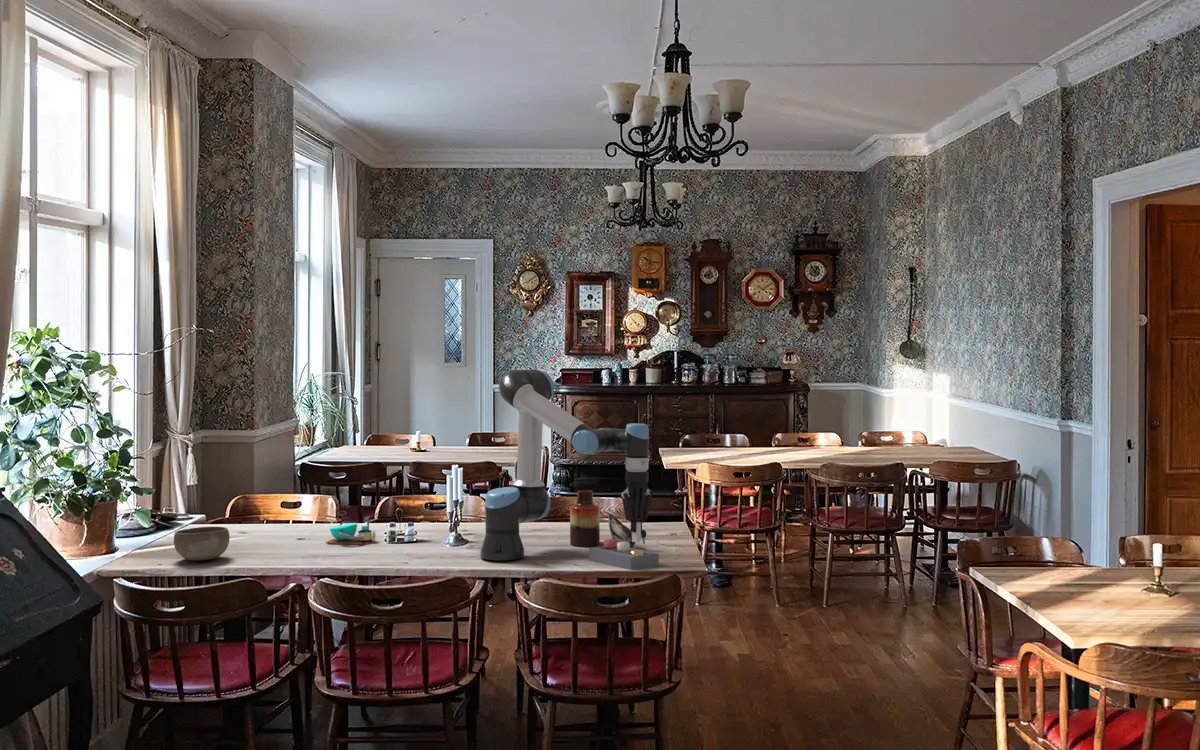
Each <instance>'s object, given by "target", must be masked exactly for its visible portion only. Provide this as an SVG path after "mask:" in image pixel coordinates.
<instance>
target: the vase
mask: <svg viewBox="0 0 1200 750" xmlns="http://www.w3.org/2000/svg"><path fill="white" fill-rule="evenodd" d="M600 509H601V508H600V506H599V505H598V504H596V503H594V495H593V490H588V489H587V490H586V489H583V490H582V489H581V490H578V491H577V494H576V503H574V504H573V505H571V506H570V507H569V516H570V517H569V523H570V524H569V525H570V527H569V531H570V532H569V541H570V546H571V545H572V547H575V548H576V547H577V548H595V547H599V546H600V543H601V542H600V538H601V535H600V532H601V531H600V529H601V528H600V523H601V522H600V520H601V519H600V518H601V517H600V515H601V513H600V512H601V511H600Z"/></svg>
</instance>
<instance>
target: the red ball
mask: <svg viewBox="0 0 1200 750" xmlns="http://www.w3.org/2000/svg"><path fill="white" fill-rule="evenodd" d="M616 543H617V542H616V540H615V539H612V538H607V539H606V538H605V539H604V540H603V546H604V549H607V550H613V549H616V545H617V544H616Z"/></svg>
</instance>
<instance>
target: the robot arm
mask: <svg viewBox="0 0 1200 750" xmlns="http://www.w3.org/2000/svg"><path fill="white" fill-rule="evenodd" d="M498 391H499V394H500V397H501V398H502V399H503V400H504V401H505V402H506V403H507V404H509V405H510V407H511V406H512V407H513V408H515V409H516V410H517V412H518V428H517V429H518V432H517V455H516V457H517V459H516V461H517V462H516V479H515V480H514V481H513V482H512V483H511V486H505V487H503V486H502V487H497V488H494V489H490V490H489V491H487V493H486V494H485V503H484V505H485V507H484V508H485V509H484V511H485V514H484V515H485V516H484V517H485V536H484V539H483V542H482V545H481V548H480V558H481V559H483V560H487V561H489V560H490V561H511V560H512V561H513V560H519V559H522V558H524V557H525V548H524V544H523V542H522V539H521V535H520V524H523V523H530V522H531V523H533V522H536V521H538V520H542V519H543V518H544V517H545V516H546V515H547V514H548V512H549V511H550V507H551V497H550V495H549V494H548V491H547V490H546V489H545V486H546V485H545V483H544V482H543V481H542V478H541V477H542V476H541V475H542V451H543V449H542V445H543V425H545V426H546V427H547V428H549V429H550V430H552V431H554V433H555V432H556V434H558V435H559V436H561V437H563V438H564V439H565V440H567V441H569V442H570V443H571V445H572V447H573V449H574V450H575V452H577V453H578V454H583V455H590V454H591V455H592V454H597V453H605V452H606V453H607V452H625V470H626V471H625V482H626V486H625V489H624V490H623V492H622V491H621V492H619V496H620V498H621V499H622V505H623V510H624V511H623V512H624V517H625V518H624V519H625V520H626V521H628V522H629V523H630V530H631V532H632V542H636V543H637V544H639V543H641V541H642V540H641V539H642V537H641V532H642V530H643V523H645V521H646V520H648V515H649V510H650V505H651V501H652V497H653V495H654V490H650V489H649V485H648V482H649V471H648V470H649V459H650V458H649V447H650V446H649V443H650V441H649V440H650V435H649V434H650V432H649V429H650V428H649V426H648V424H647V423H637V422H636V423H627V424H626V427H625V428H624V429H623V428H610V427H601V428H598V429H593V428H591V427H590V426H589V425H587V424H585V423H583V422H582V421H581V420H579V419H578V418H577V417H575V416H573V415H572V414H570V413H569V412H568V411H566V410H564V409H563V408H561V407H560V406H558V405H557V404H556V403H554V402H552V401H551V399H552V398H553V397H554V394H555V382H554V381H553V378H552V377H551V376H550V374H549V373H548V372H546V371H544V370H539V369H511V370H509V371H507V372H506V373H504V374H503V375H502V377H501V379H500V381H499V383H498ZM636 543H635V544H636Z"/></svg>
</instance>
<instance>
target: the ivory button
mask: <svg viewBox="0 0 1200 750" xmlns="http://www.w3.org/2000/svg"><path fill="white" fill-rule="evenodd" d="M616 543H617V544H616V545H617V552H621V553H625V552H630V543H629V542H616Z"/></svg>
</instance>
